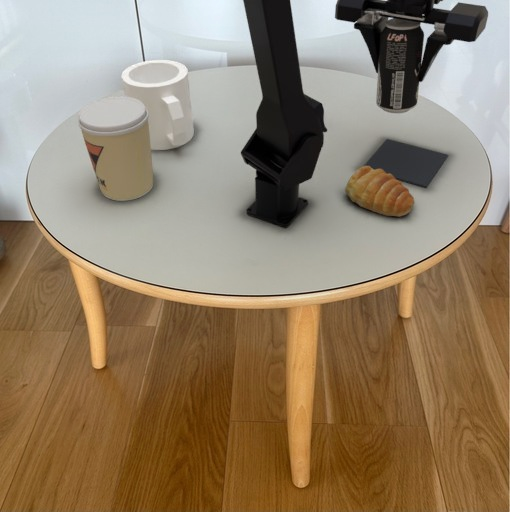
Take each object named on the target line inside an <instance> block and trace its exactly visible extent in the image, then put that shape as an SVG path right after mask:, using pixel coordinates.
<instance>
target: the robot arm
mask: <svg viewBox="0 0 510 512" xmlns="http://www.w3.org/2000/svg"><path fill="white" fill-rule="evenodd" d="M242 2H243V7H244V11H245V16H246V21H247V26H248V31H249V35H250V42H251V45H252V50H253V57H254V61H255V65H256V70H257V75H258V76H257V77H258V80H259V81H258V82H259V84H260V90H261V97H262V99H261V101H260V103H259V105H258V108H257V110H256V113H255V120H256V122H255V123H256V128H255V130H253V132H252V134H251V136H250V137H249V139H248V140H247V142H246V143H245V145H244V146H243V148H242V149H241V151H240V155H241V157H242V160H243V162H244V163H245V165H248V166H250V167H251V168H252V169H255V178H254V190H255V191H254V194H255V197H254V198H255V200H254V201H253V202H252V203H251V204H250V205H249V206H248V207H247V208H246V209H245V210H246V211H245V212H246V215H249V216H252V217H255V218H257V219H260V220H262V221H266V222H268V223H271V224H274V225H277V226H280V227H283V228H287V227H289V226H290V225H291V224H292V223H293V222H294V221H295V219H297V217H298V216H299V215H300V214H301V213H302V212H303V211H304V209H306V208H307V206H308V205H309V200H308V199H306V198H303V197H300V184H303V183H305V182H308V181H309V180H311V179H312V178H313V175H314V172H315V169H316V167H317V163H318V161H319V157H320V154H321V152H322V148H323V147H324V141H325V140H324V139H325V135H324V133H326V132H328V128H327V127H326V124H325V108H324V105H323V103H322V102H320V101H318V100H317V99H315V98H313V97H311V96H309V95H307V94H305V92H304V87H303V82H302V80H303V79H302V74H301V65H300V61H299V59H300V58H299V51H298V46H297V45H298V44H297V39H296V31H295V25H294V17H293V11H292V3H291V0H242ZM441 2H444V0H336V3H335V11H334V18H335V20H336V21H342V22H349V23H353V29H354V30H357V31H359V32H360V34H361V36H362V39H363V41H364V43H365V46H366V48H367V50H368V52H369V55H370V59H371V61H372V64H373V67H374V70H375V73H376V74H378V64H379V46H380V35H381V32H382V31H383V29H384V28H385V26H386V25H385V24H386V21H387V20H389V19H393V18H395V19H402V20H408V21H414V22H420V23H421V24H426V25H427V24H428V25H432V26H433V29H434V31H432V33H430V35H428V37H427V38H426V41H425V46H424V50H423V51H424V52H423V54H422V61H421V68H420V72H419V83H422V82H423V81H425V78H426V76H427V75H428V73H429V71H430V69H431V68H432V65H433V63H434V61H435V60H436V58H437V56H438V54H439V52H440V51H441V49H442V48H443V46H449V45H452V43H454V41H460V42H465V43H474V42H476V41H477V40H478V38H479V37H480V36H481V34H482V33H483V32H484V31H485V29H486V26H487V22H488V18H489V11H488V8H487V7H486V5H479V4H473V3H466V2H459V1H458V2H457V3H456V4H455V5H454V6H453V7H452V9H443V8H436V7H434V6H435V5H439V3H441Z"/></svg>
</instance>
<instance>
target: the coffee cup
mask: <svg viewBox="0 0 510 512" xmlns="http://www.w3.org/2000/svg"><path fill="white" fill-rule="evenodd" d="M148 118H149V113H148V110H147V108H146V107H145V105H144V104H143V103H142V102H141V101H139V100H137V99H135V98H131V97H125V96H122V95H121V96H117V95H116V96H109V97H108V96H107V97H103V98H99V99H95V100H93V101H91V102H89V103H87V104H86V105H84V106H83V107H81V109H80V111H79V112H78V117H77V124H78V127H79V128H80V130H81V134H82V137H83V140H84V144H85V146H86V150H87V153H88V156H89V159H90V162H91V165H92V168H93V171H94V175H95V178H96V182H97V183H98V186H99V189H100V192H101V194H102V195H103V196H104V197H106V198H107V199H109V200H112V201H118V202H127V201H133V200H136V199H137V200H138V199H139V198H142V197H143V196H146V195H147V194H148V193H149V192H150V191H151V190H152V188H153V187H154V171H153V158H152V150H151V145H150V133H149V124H148Z"/></svg>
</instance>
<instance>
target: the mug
mask: <svg viewBox="0 0 510 512" xmlns="http://www.w3.org/2000/svg"><path fill="white" fill-rule="evenodd" d="M189 80H190V79H189V71H188V68H187V67H186V65H185V64H183V63H180V62H179V61H176V60H171V59H170V60H169V59H152V60H151V59H150V60H145V61H140V62H138V63H134V64H132V65H129V66H128V67H126V68H125V69H124V71H122V73H121V82H122V87H123V93H124V97H131V98H135V99H137V100H139V101H141V102H142V103H143V104H144V105H145V107H146V108H147V110H148V113H149V118H148V124H149V133H150V145H151V151H167V150H168V151H169V150H171V149H172V150H173V149H176V148H180V147H182V146H184V145H186V144H187V143H189V142H190V141H192V138H193V137H194V135H195V129H194V128H195V127H194V119H193V108H192V98H191V90H190V81H189Z"/></svg>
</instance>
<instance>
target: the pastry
mask: <svg viewBox="0 0 510 512" xmlns="http://www.w3.org/2000/svg"><path fill="white" fill-rule="evenodd" d="M348 179H349V180H348V181H347V184H346V186H345V188H344V189H345V190H344V191H345V193H346V194H347V196H348V197H349V199H350V200H351V202H353V203H356V204H357V205H359V207H361V208H364V209H366V210H369V211H372V212H373V213H378V214H379V215H383V216H388V217H392V216H393V217H403V216H405V215H407V214H408V213H410V212H411V211H412V210H413V209H412V208H413V207H414V205H415V202H416V201H415V198H414V196H413V195H412V194H411V192H410V189H409V188H408V187H405V186H404V185H403V183H402V182H403V181H400V180H397V179H396V178H395V177H394V176H393V175H392V174H386V172H385V171H384V170H383V169H376V170H374V169H372V168H371V167H370V166H364V165H362V166H361V167H359V168H356V170H355V172H354V173H353V174H352V175H351V176H350V178H348Z"/></svg>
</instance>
